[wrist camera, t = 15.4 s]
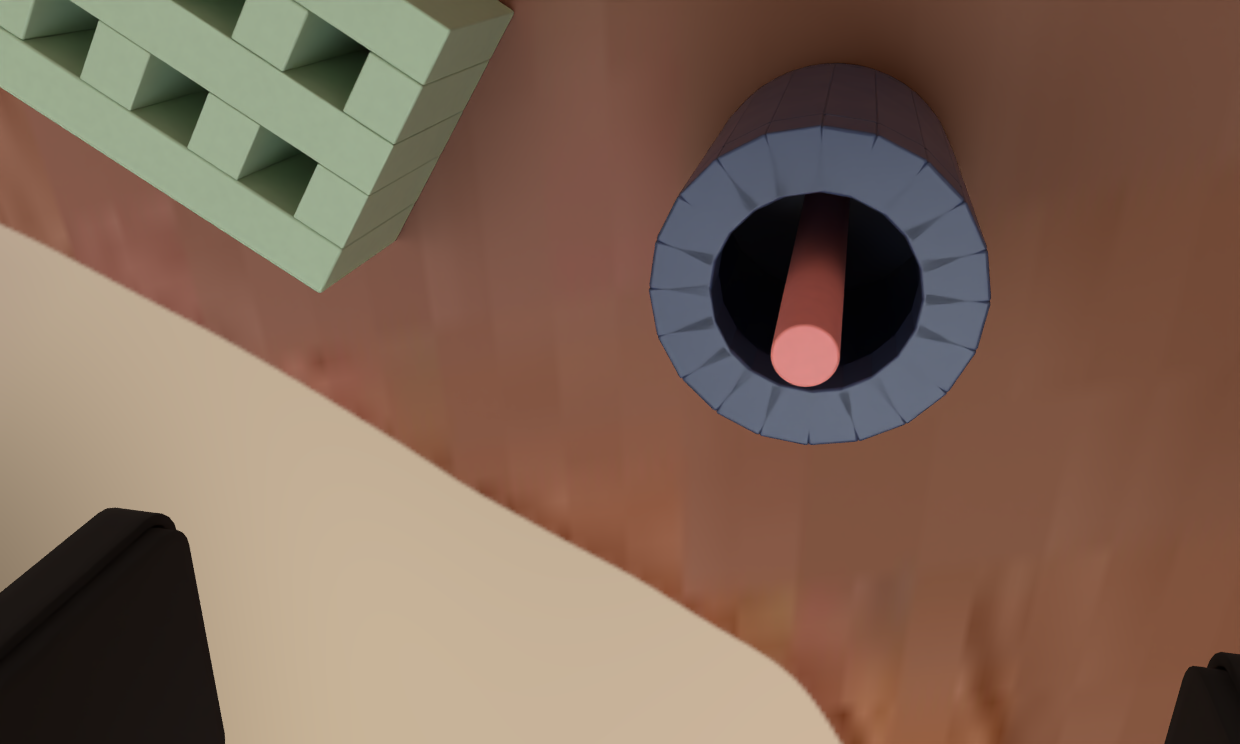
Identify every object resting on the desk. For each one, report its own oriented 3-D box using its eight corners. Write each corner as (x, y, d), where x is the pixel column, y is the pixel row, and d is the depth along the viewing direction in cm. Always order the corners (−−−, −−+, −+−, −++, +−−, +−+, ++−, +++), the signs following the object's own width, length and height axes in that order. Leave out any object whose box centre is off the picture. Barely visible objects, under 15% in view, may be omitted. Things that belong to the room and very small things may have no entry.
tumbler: (894, 16, 33) (905, 63, 23) (992, 241, 35) (1043, 374, 25) (670, 132, 35) (593, 219, 25) (773, 334, 37) (738, 487, 27)
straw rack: (168, -220, 34) (37, -244, 29) (515, 11, 35) (450, 30, 29) (84, 39, 38) (-44, 60, 33) (395, 241, 39) (319, 295, 34)
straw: (839, 164, 34) (822, 313, 21) (857, 203, 34) (851, 372, 22) (798, 183, 34) (758, 340, 22) (817, 221, 35) (788, 397, 22)
